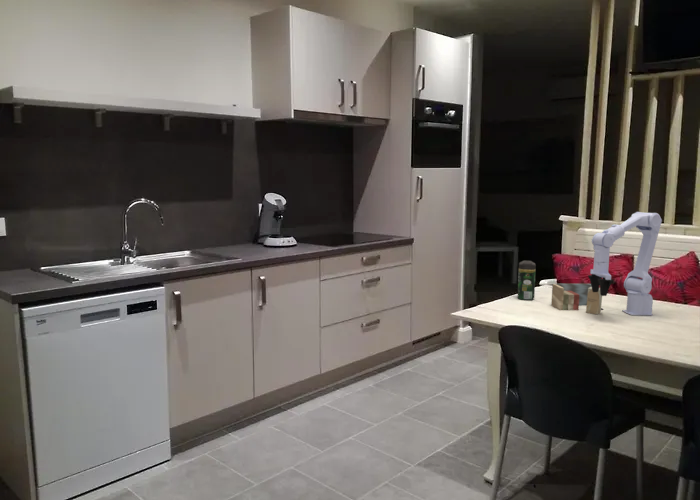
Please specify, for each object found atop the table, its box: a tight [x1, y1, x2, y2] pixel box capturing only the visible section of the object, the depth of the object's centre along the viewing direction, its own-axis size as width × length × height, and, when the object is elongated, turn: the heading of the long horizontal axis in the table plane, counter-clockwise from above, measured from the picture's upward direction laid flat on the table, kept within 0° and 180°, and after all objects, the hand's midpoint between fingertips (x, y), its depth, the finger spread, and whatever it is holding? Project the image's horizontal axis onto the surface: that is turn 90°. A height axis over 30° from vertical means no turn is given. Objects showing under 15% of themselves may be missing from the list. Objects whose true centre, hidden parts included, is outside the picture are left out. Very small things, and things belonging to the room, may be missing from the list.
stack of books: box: [550, 283, 604, 311], centre depth 249 cm, size 20×10×10 cm, turn 91°
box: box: [585, 287, 603, 315], centre depth 239 cm, size 5×4×11 cm
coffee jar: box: [517, 260, 537, 301], centre depth 267 cm, size 10×8×19 cm
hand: (599, 293), depth 230 cm, fingers open, 7 cm apart
